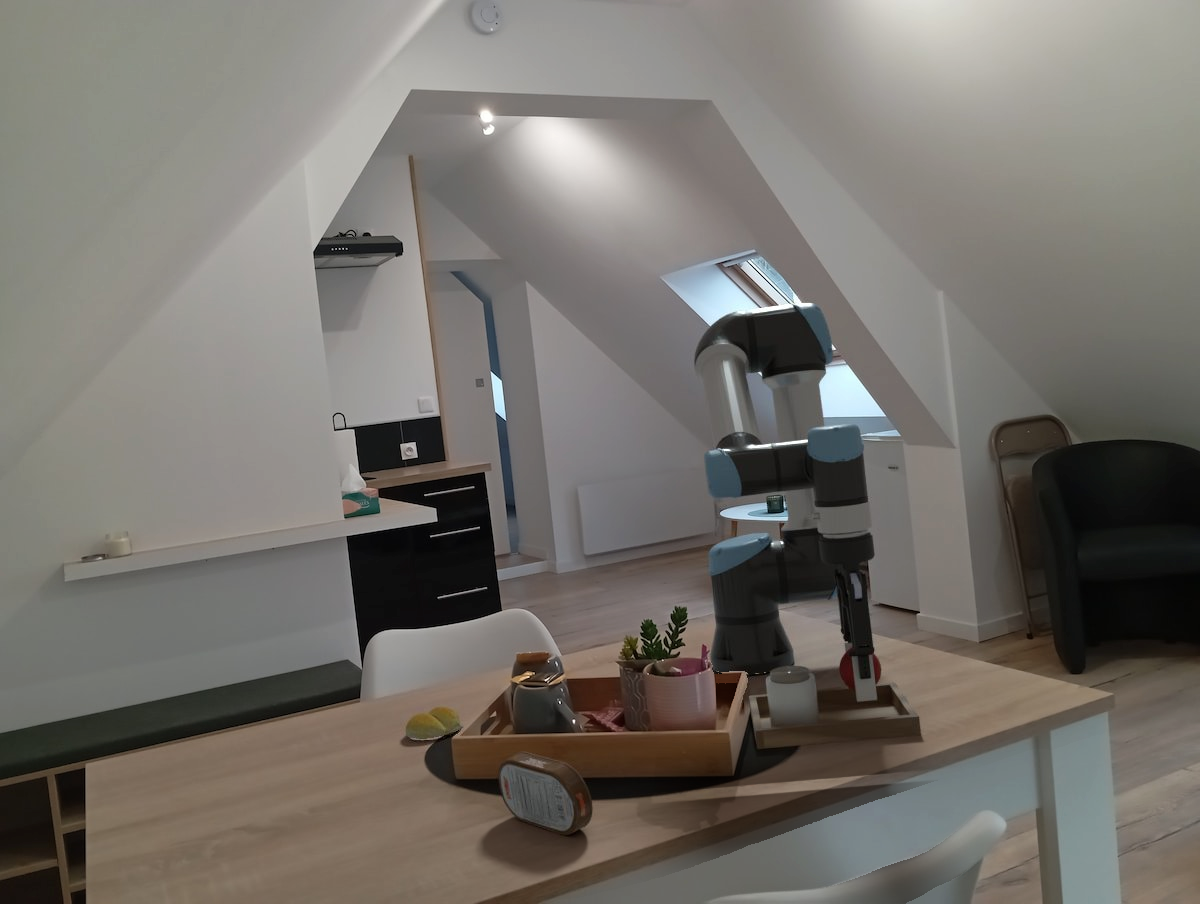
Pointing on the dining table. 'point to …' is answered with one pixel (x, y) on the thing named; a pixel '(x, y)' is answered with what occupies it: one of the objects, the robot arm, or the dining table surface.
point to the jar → (792, 696)
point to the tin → (545, 793)
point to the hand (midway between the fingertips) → (862, 692)
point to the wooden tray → (840, 718)
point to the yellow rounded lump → (433, 723)
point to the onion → (847, 669)
